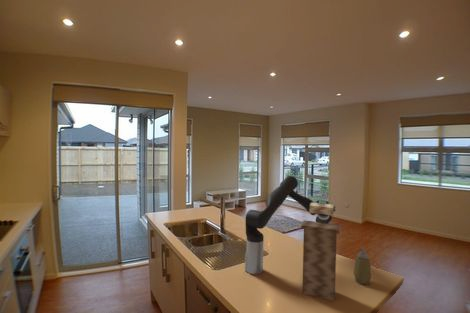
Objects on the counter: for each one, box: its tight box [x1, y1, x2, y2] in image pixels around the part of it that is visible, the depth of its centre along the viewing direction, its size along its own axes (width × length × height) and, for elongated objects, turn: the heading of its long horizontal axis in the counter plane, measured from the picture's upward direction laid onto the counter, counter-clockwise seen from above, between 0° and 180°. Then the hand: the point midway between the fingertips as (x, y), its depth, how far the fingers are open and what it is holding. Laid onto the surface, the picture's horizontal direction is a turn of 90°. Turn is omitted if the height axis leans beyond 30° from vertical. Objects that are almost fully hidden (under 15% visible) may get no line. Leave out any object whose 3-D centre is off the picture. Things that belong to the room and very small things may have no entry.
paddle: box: [308, 199, 335, 216], centre depth 125 cm, size 11×18×4 cm, turn 158°
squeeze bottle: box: [353, 246, 372, 285], centre depth 123 cm, size 8×8×18 cm
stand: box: [301, 219, 340, 302], centre depth 112 cm, size 16×9×32 cm, turn 68°
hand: (322, 202), depth 129 cm, fingers closed on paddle, 3 cm apart
